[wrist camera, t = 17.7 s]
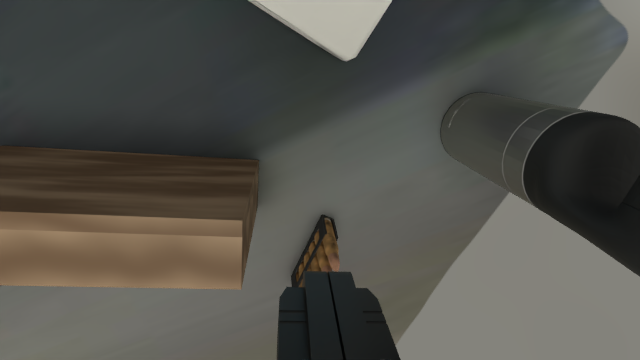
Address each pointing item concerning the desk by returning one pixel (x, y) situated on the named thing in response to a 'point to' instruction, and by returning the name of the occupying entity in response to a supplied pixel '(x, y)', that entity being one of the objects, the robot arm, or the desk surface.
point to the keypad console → (124, 219)
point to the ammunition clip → (318, 251)
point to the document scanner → (329, 21)
